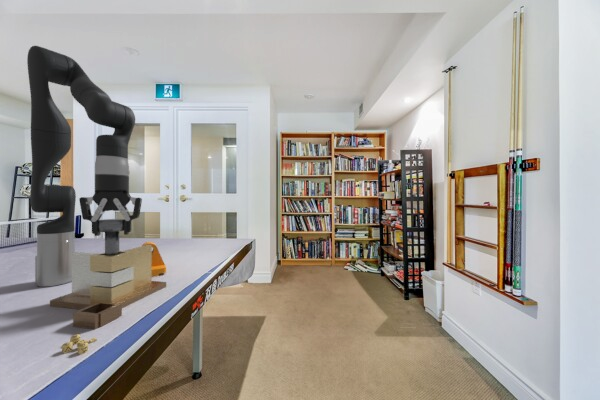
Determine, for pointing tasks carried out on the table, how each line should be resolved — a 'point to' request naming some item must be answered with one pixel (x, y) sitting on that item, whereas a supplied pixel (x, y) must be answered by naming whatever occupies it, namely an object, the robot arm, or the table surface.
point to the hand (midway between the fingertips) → (112, 234)
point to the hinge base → (112, 288)
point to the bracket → (156, 261)
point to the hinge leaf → (95, 274)
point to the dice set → (81, 344)
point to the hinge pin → (111, 234)
